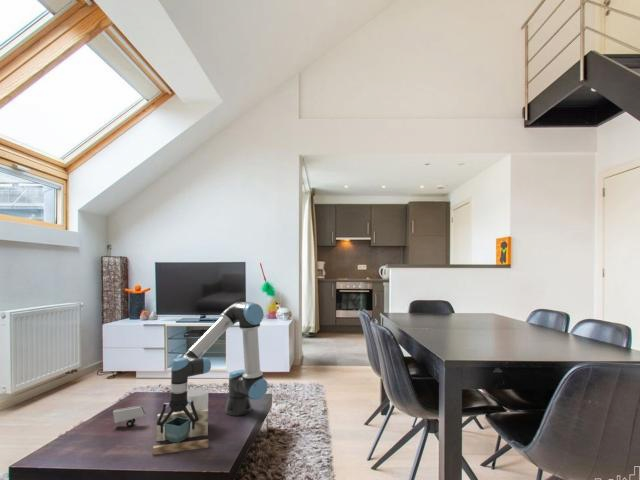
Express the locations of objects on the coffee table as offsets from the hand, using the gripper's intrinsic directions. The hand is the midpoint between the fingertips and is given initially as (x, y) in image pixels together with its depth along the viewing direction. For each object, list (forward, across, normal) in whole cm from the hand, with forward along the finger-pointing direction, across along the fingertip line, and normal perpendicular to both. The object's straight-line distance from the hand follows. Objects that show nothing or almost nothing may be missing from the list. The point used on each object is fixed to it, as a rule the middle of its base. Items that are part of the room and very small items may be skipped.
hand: (177, 437), depth 182 cm
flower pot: (+1, 0, 0) cm, 1 cm away
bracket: (0, +33, -31) cm, 45 cm away
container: (+3, -7, -19) cm, 21 cm away
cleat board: (+3, -2, 0) cm, 4 cm away
